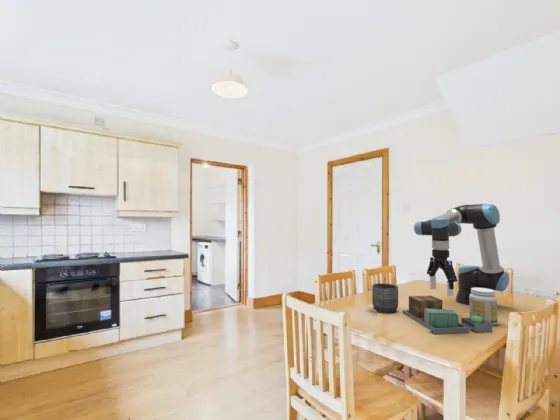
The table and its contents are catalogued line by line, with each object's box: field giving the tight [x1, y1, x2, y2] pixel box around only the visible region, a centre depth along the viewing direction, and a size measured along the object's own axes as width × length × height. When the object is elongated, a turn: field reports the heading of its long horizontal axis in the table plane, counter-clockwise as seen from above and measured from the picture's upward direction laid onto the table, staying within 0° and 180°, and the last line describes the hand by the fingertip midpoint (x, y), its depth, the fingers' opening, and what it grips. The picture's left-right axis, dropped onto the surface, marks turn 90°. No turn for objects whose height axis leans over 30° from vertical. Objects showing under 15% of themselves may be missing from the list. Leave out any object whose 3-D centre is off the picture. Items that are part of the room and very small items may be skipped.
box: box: [424, 308, 460, 328], centre depth 149 cm, size 7×14×8 cm, turn 81°
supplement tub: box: [468, 288, 499, 327], centre depth 158 cm, size 12×12×17 cm
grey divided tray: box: [402, 309, 470, 335], centre depth 156 cm, size 18×29×2 cm, turn 6°
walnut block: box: [408, 295, 443, 318], centre depth 163 cm, size 13×10×10 cm
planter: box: [371, 282, 399, 314], centre depth 176 cm, size 14×14×15 cm
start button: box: [471, 315, 482, 323], centre depth 148 cm, size 4×4×4 cm
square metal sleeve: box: [460, 317, 493, 334], centre depth 148 cm, size 9×9×4 cm
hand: (441, 292), depth 150 cm, fingers open, 13 cm apart
